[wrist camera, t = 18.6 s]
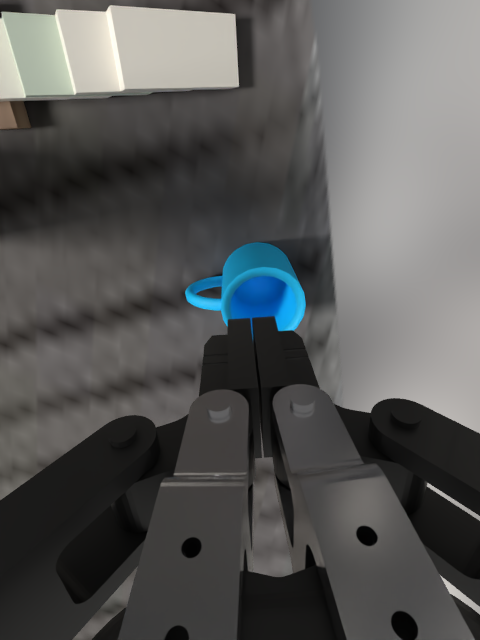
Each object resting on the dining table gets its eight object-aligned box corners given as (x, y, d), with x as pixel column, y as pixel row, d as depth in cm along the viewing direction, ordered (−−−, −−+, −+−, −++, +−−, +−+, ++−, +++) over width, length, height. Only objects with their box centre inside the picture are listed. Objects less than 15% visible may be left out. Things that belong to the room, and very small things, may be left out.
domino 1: (107, 97, 33) (-20, 101, 29) (93, 29, 31) (-48, 21, 26) (111, 96, 32) (-21, 98, 27) (97, 24, 29) (-50, 15, 25)
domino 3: (189, 90, 33) (74, 94, 29) (181, 21, 30) (54, 15, 27) (196, 88, 32) (76, 92, 28) (188, 16, 29) (56, 9, 25)
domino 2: (146, 95, 33) (25, 97, 29) (135, 25, 31) (1, 18, 26) (151, 93, 32) (25, 95, 27) (141, 20, 29) (1, 11, 25)
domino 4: (230, 88, 33) (120, 91, 29) (226, 19, 30) (105, 11, 27) (239, 86, 32) (124, 89, 28) (235, 14, 29) (109, 5, 25)
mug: (293, 240, 40) (308, 264, 32) (291, 306, 44) (303, 341, 36) (185, 245, 40) (175, 270, 32) (192, 311, 43) (185, 347, 36)
